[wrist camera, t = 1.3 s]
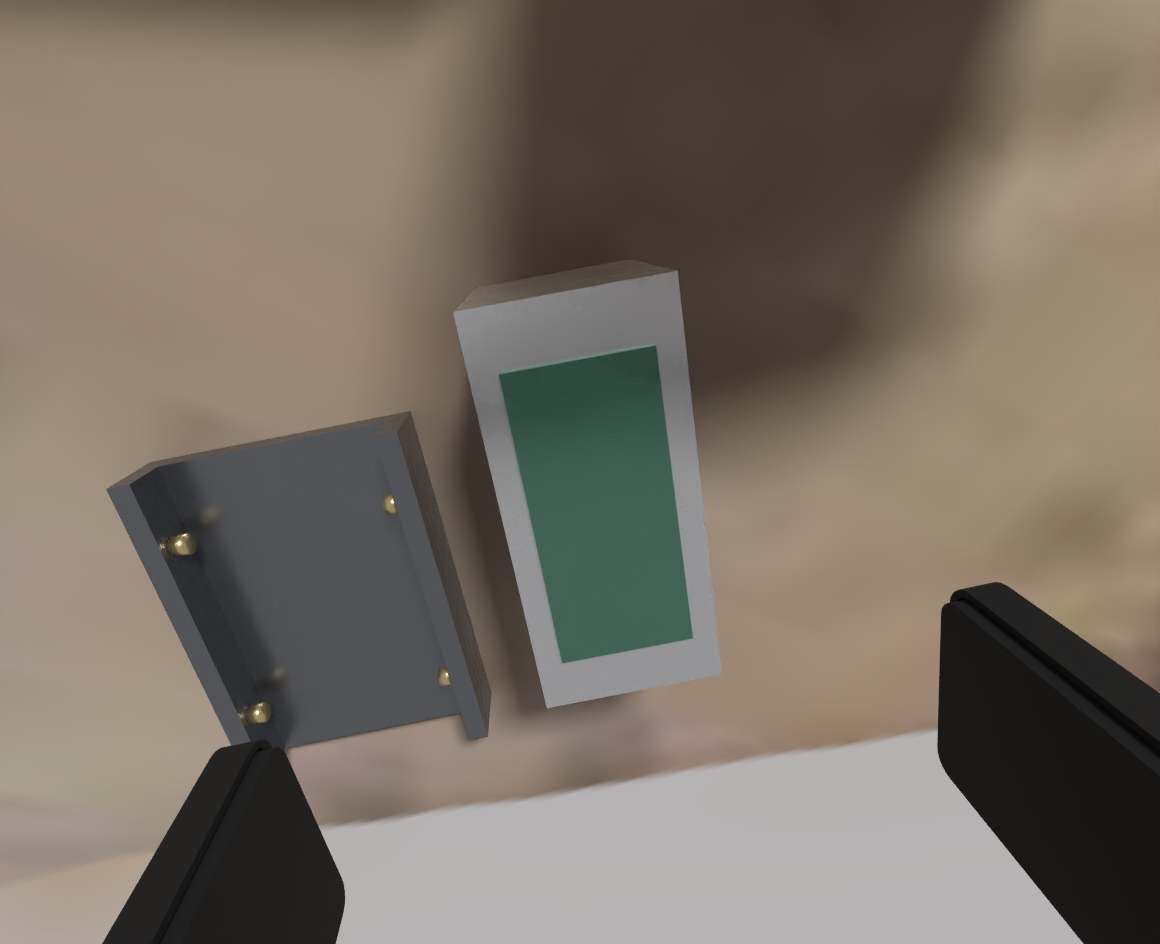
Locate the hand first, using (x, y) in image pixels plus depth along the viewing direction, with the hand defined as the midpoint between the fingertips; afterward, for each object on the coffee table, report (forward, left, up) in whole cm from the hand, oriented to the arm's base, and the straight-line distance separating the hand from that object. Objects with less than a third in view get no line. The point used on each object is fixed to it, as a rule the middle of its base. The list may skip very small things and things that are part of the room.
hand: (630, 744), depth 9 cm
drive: (-1, 0, -14) cm, 14 cm away
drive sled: (+9, +4, -14) cm, 18 cm away
